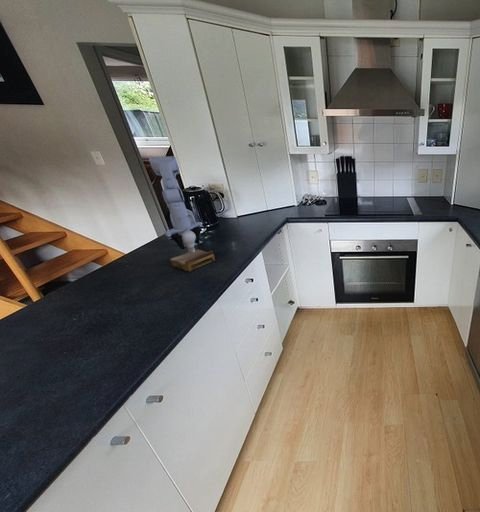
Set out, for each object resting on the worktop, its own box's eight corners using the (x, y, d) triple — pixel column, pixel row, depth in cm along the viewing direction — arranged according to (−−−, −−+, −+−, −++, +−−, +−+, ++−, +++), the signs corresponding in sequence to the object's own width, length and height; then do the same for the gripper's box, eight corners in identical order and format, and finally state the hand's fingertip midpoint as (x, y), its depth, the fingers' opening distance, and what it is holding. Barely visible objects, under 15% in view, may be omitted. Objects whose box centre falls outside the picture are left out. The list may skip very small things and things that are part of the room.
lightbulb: (189, 250, 126) (181, 227, 121) (203, 249, 127) (196, 227, 122) (181, 256, 121) (172, 233, 116) (196, 255, 121) (188, 232, 116)
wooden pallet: (172, 265, 122) (169, 256, 120) (199, 255, 132) (196, 246, 129) (189, 271, 117) (186, 261, 115) (215, 260, 127) (212, 251, 125)
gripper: (167, 223, 109) (178, 254, 115) (202, 213, 121) (211, 242, 127) (157, 221, 111) (168, 250, 117) (192, 211, 123) (201, 239, 129)
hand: (190, 246), depth 122 cm, fingers closed on lightbulb, 6 cm apart
